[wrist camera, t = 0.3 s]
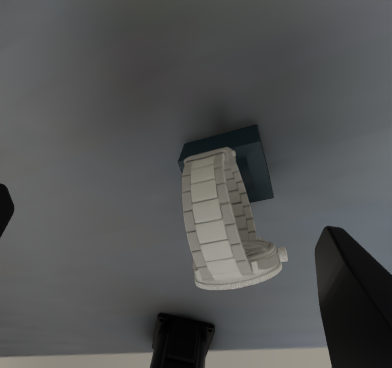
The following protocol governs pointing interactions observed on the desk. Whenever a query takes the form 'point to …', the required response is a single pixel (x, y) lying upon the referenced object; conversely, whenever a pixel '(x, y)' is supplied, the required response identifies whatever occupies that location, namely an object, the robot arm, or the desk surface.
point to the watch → (227, 210)
